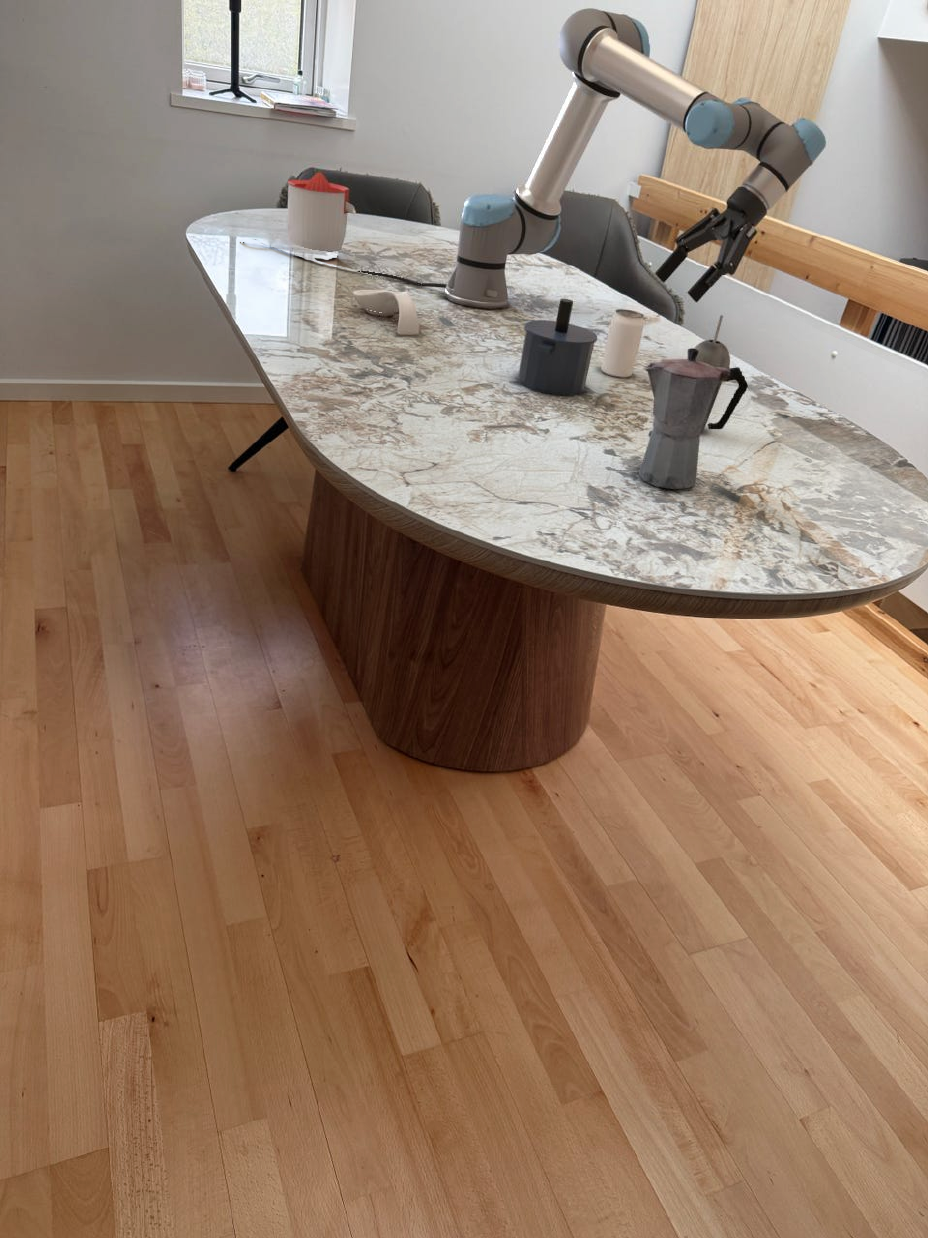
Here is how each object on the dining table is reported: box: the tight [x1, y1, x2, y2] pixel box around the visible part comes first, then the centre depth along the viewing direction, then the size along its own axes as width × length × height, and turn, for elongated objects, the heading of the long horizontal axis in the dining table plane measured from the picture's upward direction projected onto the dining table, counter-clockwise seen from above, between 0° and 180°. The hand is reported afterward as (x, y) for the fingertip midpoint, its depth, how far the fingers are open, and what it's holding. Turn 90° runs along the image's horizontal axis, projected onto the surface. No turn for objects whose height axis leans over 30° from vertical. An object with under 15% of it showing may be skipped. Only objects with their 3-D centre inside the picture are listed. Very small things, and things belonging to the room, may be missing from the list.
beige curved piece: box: [352, 289, 420, 336], centre depth 197 cm, size 24×12×7 cm, turn 25°
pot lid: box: [523, 298, 598, 345], centre depth 169 cm, size 14×14×7 cm
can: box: [600, 308, 645, 379], centre depth 185 cm, size 6×6×12 cm
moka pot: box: [638, 347, 749, 490], centre depth 137 cm, size 10×15×20 cm, turn 95°
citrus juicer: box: [286, 171, 357, 252], centre depth 237 cm, size 16×17×20 cm
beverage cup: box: [694, 314, 731, 433], centre depth 160 cm, size 7×7×20 cm
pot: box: [517, 331, 595, 396], centre depth 173 cm, size 13×18×10 cm
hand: (675, 287), depth 183 cm, fingers open, 13 cm apart
